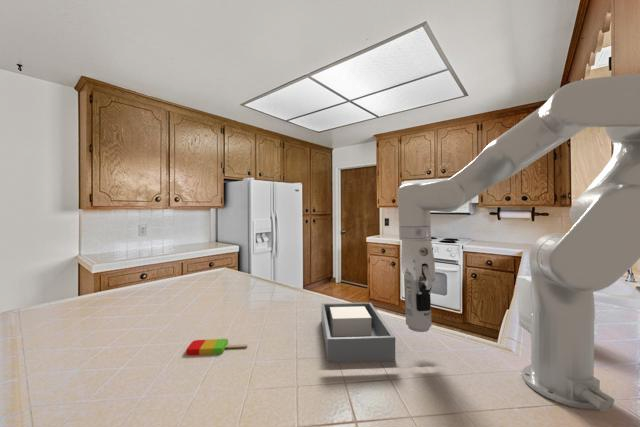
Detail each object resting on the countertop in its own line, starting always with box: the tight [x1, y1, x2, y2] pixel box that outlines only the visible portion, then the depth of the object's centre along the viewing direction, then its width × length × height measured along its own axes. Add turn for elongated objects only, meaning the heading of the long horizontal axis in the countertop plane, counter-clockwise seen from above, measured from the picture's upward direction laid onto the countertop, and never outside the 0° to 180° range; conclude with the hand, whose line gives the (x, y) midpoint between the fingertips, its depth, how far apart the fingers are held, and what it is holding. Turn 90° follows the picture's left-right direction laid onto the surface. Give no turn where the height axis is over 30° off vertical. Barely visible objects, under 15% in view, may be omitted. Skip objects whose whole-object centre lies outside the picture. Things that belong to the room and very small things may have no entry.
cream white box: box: [330, 306, 371, 336], centre depth 81 cm, size 9×11×5 cm
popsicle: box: [186, 338, 248, 356], centre depth 71 cm, size 6×15×2 cm, turn 95°
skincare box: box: [516, 275, 532, 333], centre depth 82 cm, size 8×7×16 cm
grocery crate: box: [321, 302, 396, 364], centre depth 75 cm, size 24×16×6 cm, turn 3°
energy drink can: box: [403, 268, 432, 333], centre depth 67 cm, size 6×6×15 cm
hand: (417, 305), depth 67 cm, fingers closed on energy drink can, 6 cm apart
